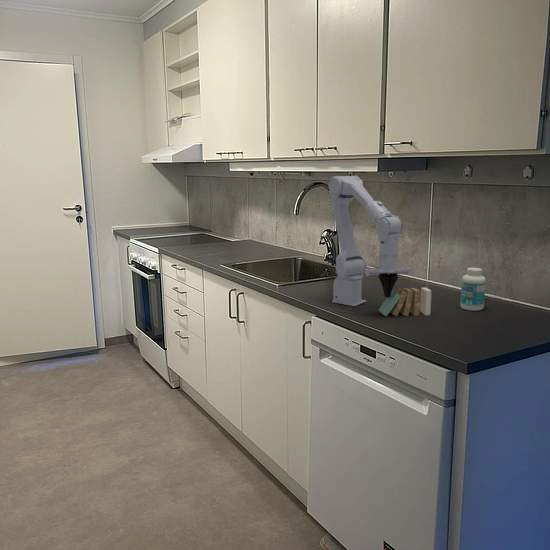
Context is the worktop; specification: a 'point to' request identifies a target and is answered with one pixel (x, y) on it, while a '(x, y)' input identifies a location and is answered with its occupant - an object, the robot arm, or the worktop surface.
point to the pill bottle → (473, 290)
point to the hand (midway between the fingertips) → (387, 296)
